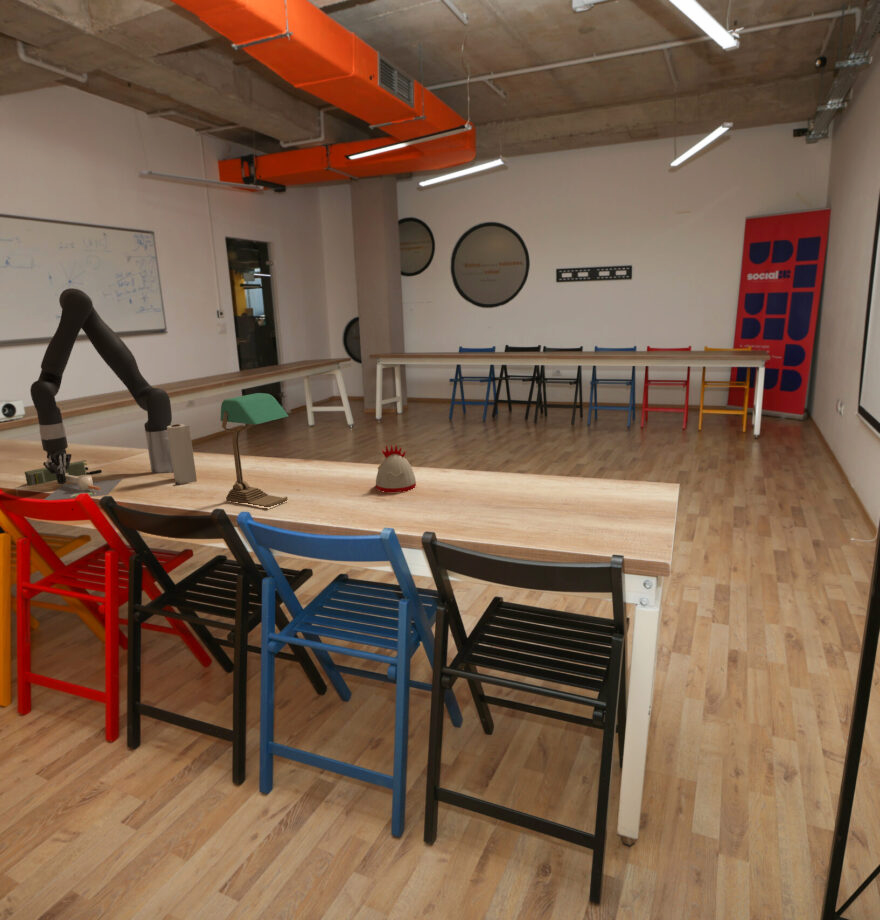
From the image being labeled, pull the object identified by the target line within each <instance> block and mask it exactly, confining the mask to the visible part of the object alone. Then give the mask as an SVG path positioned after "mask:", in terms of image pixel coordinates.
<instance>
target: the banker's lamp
mask: <svg viewBox="0 0 880 920" xmlns="http://www.w3.org/2000/svg"><path fill="white" fill-rule="evenodd" d="M288 417H289V415H288V413H287V412H286V410H284V408H283V406H282V405H281V404H280V403H279V402H278V400H277V399H276V398H275V397H274V396H273V395H271V394H270V393H264V392H260V393H259V392H257V393H251V394H246V395H242V396H241V395H240V396H236V397H231V398H226V399H224V400H223V401H222V402H221V406H220V422H221V423H222V424H221V427H222V429H223V430H225V431H226V432H229V433H230V432H232V436H231V437H232V439H231V440H232V441H231V442H232V449H233V450H232V451H233V458H234V468H235V474H236V481H235V482H234V484H233V486H232V488H231V489H230V490H229V491H228V492H227V495H226V496H225V501H226V502H227V501H231V502H230V503H232V502H238V503H248V504H253V505H259V506H264V507H271V506H274V505H277V504H280V503H283V502H285V501H287V500H288V496H285V497H280V496H275V495H271V494H269V493H266V492H264V490H262V489H261V488H258V487H252V486H250V485H249V483H248V482H247V481H245V480H244V477H243V469H242V462H241V461H242V460H241V454H240V452H241V451H240V445H239V443H240V442H239V438H240V437H239V436H240V434H241V433H242V432H243V431H245V430H247V429H250V428H252V427H253V426H256V425H259V424H260V425H261V424H263V423H268V422H271V421H275V420H279V419H284V418H288ZM228 423H235V424H244V425H243V426H242V427H240V428H238V429H236V431H235V430H233V429H230V428H227V425H228ZM288 501H289V500H288Z"/></svg>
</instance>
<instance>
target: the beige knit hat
mask: <svg viewBox="0 0 880 920" xmlns="http://www.w3.org/2000/svg"><path fill="white" fill-rule="evenodd" d="M393 447H394V448H393ZM381 452H382V454H383V456H384V457H385V458H384V459H383V460H382V461H381V463H380V464H379V466H378V467H377V475H376V478H375V479H376V480H375V489H376V488H377V489H378V490H380V491H379V492H381V491H384V492H383V493H386V492H400V493H404V492H403V491H406V492H409V491H408V490H410V491H412V490H414V489H415V488H416V487H417V485H416V484H417V481H416V476H415V473H414V471H413V468H412V465H411V464H410V462H409V461H408V459H406V458H405V455H406V452H407V451H406V450H404V452H403V453H402V447H399V449H398V446H397V444H395V446H393V445H392V444H391V446H390V450H389V449H388V446H387V445H385V450H383V449H381ZM415 486H416V487H415ZM413 488H414V489H413ZM377 489H376V490H377ZM411 489H412V490H411ZM378 490H377V491H378Z"/></svg>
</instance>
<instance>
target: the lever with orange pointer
mask: <svg viewBox="0 0 880 920" xmlns="http://www.w3.org/2000/svg"><path fill="white" fill-rule="evenodd" d="M65 477H66V482H69V483H77V484H79V490H80V491H86V490H91V489H95V490H100V487H96V486H93V482H94V481H93V476H92V475H81V476H73V475H69V474H68V473H65Z"/></svg>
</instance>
